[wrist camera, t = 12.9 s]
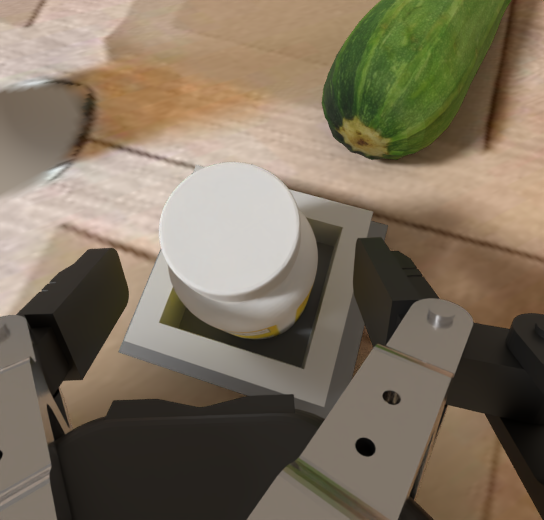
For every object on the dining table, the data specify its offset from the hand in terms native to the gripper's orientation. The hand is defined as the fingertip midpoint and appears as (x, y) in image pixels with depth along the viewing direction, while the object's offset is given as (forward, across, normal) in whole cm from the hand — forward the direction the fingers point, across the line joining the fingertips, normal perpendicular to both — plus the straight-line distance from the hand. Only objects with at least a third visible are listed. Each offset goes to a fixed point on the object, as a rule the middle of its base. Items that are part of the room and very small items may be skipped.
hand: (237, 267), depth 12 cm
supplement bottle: (+6, 0, +5) cm, 8 cm away
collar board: (+6, 0, +5) cm, 8 cm away
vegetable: (+18, -12, -5) cm, 22 cm away
